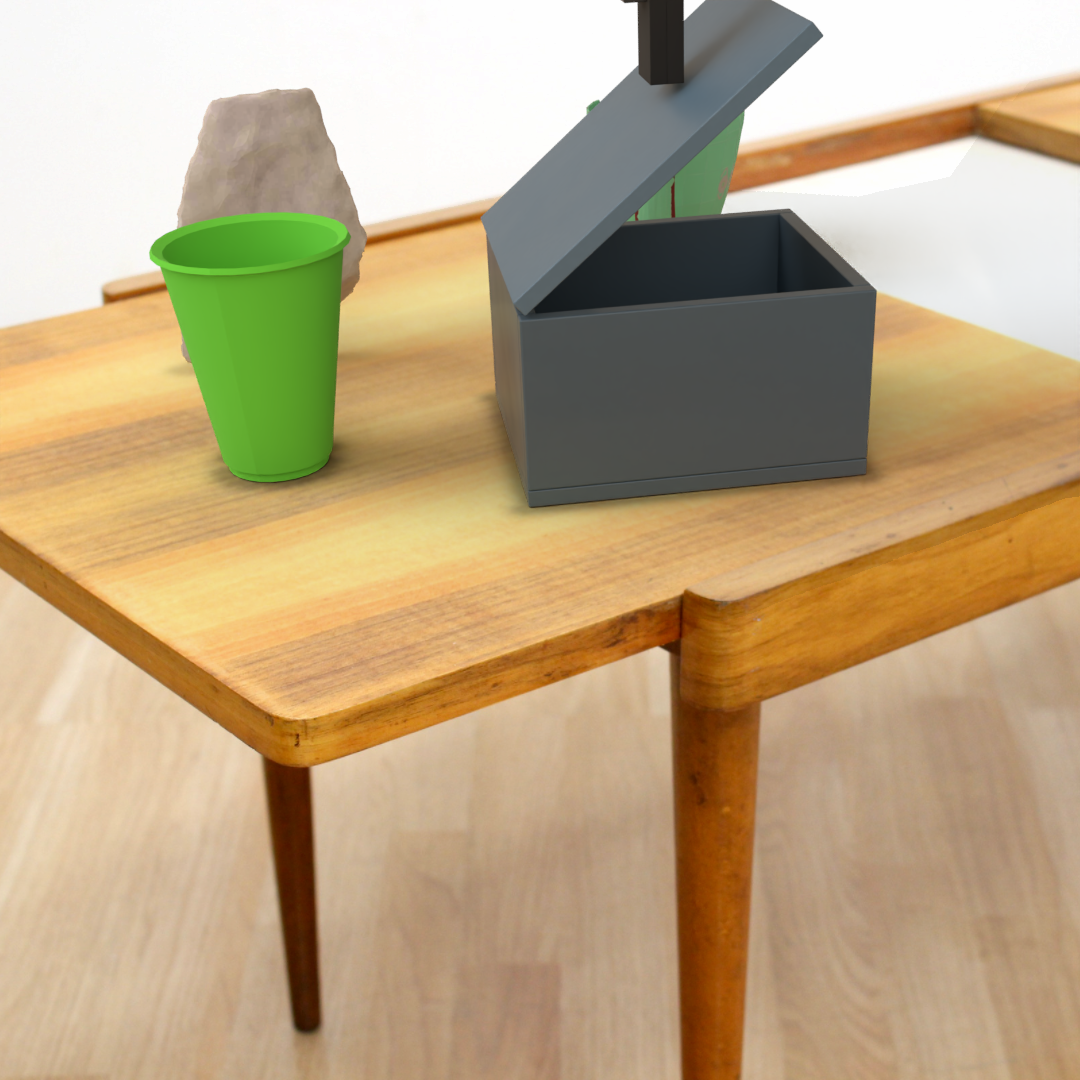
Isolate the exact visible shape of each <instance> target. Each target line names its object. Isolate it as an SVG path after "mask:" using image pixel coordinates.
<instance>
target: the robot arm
mask: <svg viewBox="0 0 1080 1080" xmlns="http://www.w3.org/2000/svg"><path fill="white" fill-rule="evenodd" d="M620 1H621V3H624V4H634V3H637V6H636V7H637V50H638V51H637V60H638V61H637V63H638V65H637V66H638V69H639V75H640V76H641V77H642V78H643V79H644V80H645V81H646V82H648V83H649V84H650V85H663V84H677V83H684V20H685V0H620Z"/></svg>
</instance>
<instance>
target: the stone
mask: <svg viewBox="0 0 1080 1080" xmlns="http://www.w3.org/2000/svg"><path fill="white" fill-rule="evenodd" d="M327 132H328V131H327V128H326V126H325V123H324V119H323V114H322V109H321V106H320V104H319V102H318V100H317V98H316V95H315V92H314V91H313V90H312V89H311V88H309V87H301V88H298V89H294V88H292V89H291V88H289V89H279V88H271V89H266V90H263V91H260V92H255V93H254V92H253V93H241V94H237V95H233V96H227V97H219V98H216V99H212V100H211V101H210V103H208V106H207V108H206V111H205V112H204V115H203V118H202V126H201V128H200V131H199V133H198V134H197V146H196V148H195V151H194V153H193V156H191V158H190V160H189V162H188V165H187V170H186V172H185V175H184V184H183V186H182V193H181V199H180V204H179V206H178V208H177V212H176V216H177V226H176V229H178V228H180V227H183V226H187V225H190V224H193V223H197V222H201V221H206V220H210V219H215V218H220V217H227V216H234V215H241V214H254V213H278V212H288V213H305V214H312V215H318V216H324V217H327V218H331V219H334V220H337V221H338V222H340V223H342V224H343V225H345V227H346V228H347V230H348V232H349V234H350V235H351V238H350V241H349V244H347V245H346V246H345V247H344V248H343V265H342V284H341V303H342V302H343V301H344V300H345V299H346V298H347V297H349V296H350V295H351V294H352V293H353V292H354V288H356V286H357V284H358V283H359V281H360V277H361V276H360V275H361V272H360V262H361V260H362V258H363V253H365V248H366V245H367V241H368V235H367V234H368V233H367V231H366V230H365V228H364V227H363V226H362V224H361V222H360V218H359V217H360V216H359V213H358V212H359V211H358V209H357V205H356V203H355V200H354V197H353V195H352V191H351V187H350V185H349V183H348V181H347V178H346V176H345V175H344V172H343V170H342V169H341V168H340V164H339V162H338V155H337V150H336V147H335V145H334V143H333V142H332V140H331V138H330V136H329V135H328V133H327ZM180 334H181V345H180V349H181V355H182V357H183V358H184V359H185V361H186V362H187V363H189V364H192V363H191V360H190V357H189V354H188V350H187V347H186V344H185V341H184V338H183V335H182V332H181V331H180Z"/></svg>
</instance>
